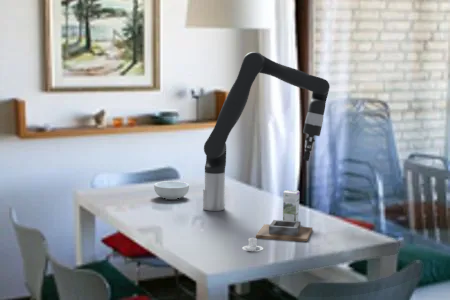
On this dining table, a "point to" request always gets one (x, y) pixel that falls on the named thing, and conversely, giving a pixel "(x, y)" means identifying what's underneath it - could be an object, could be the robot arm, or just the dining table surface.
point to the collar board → (284, 231)
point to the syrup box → (291, 205)
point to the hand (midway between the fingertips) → (305, 160)
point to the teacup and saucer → (252, 245)
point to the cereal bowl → (171, 189)
